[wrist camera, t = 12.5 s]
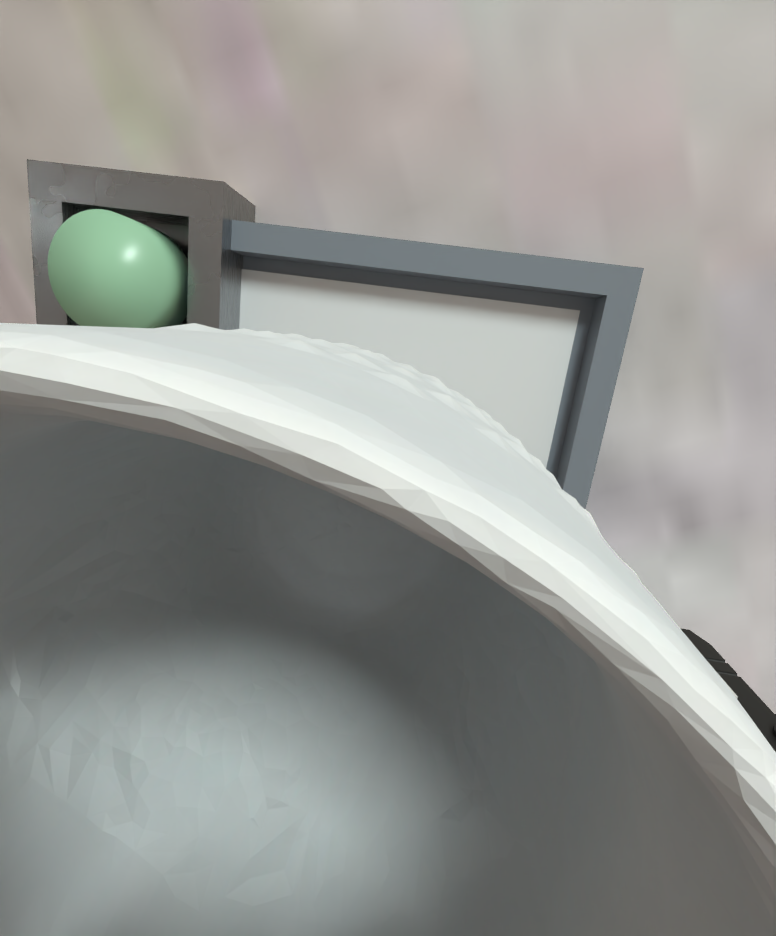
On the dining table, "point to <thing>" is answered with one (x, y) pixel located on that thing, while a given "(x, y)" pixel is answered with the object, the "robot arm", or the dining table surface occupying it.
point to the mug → (337, 665)
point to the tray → (459, 325)
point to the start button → (117, 272)
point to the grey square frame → (156, 205)
